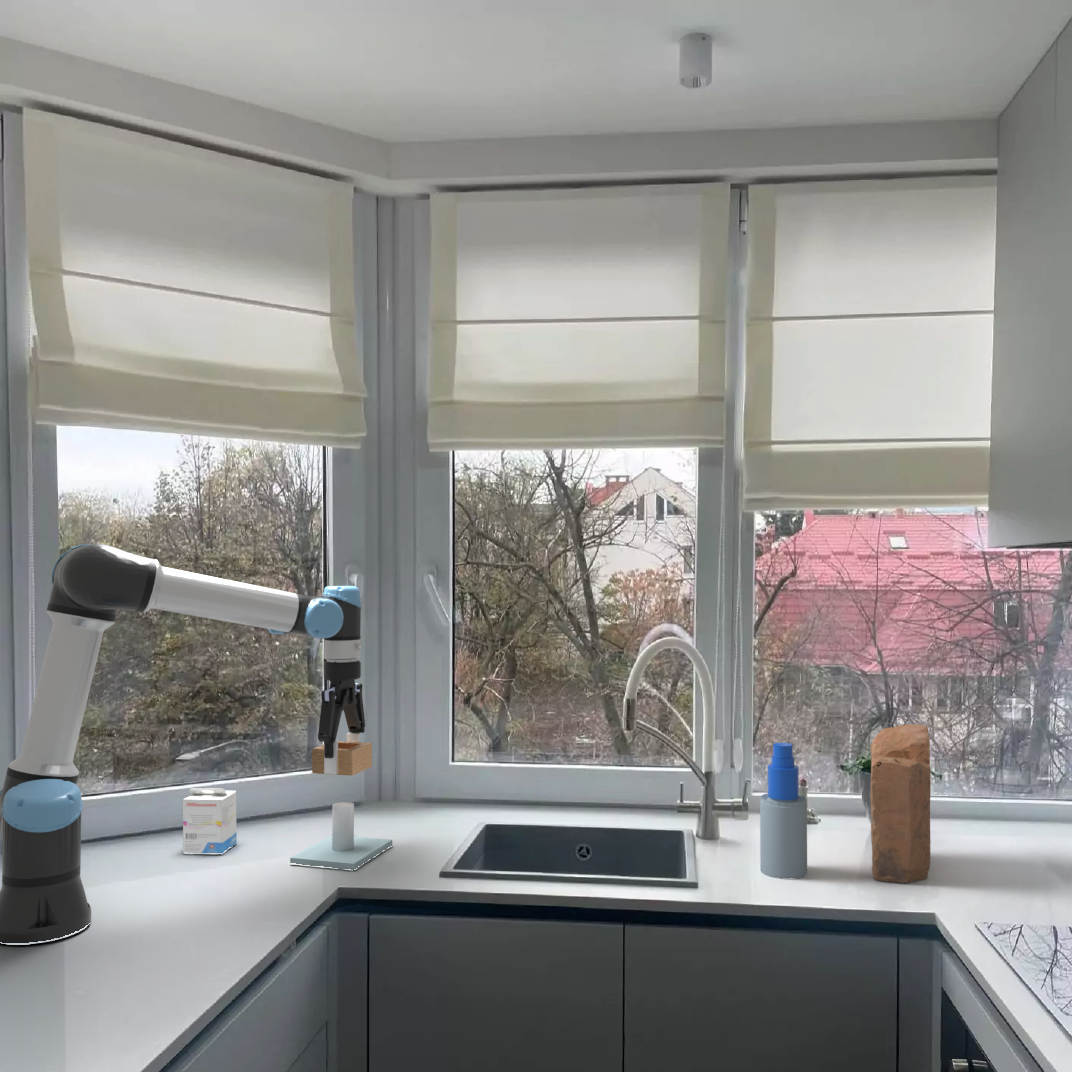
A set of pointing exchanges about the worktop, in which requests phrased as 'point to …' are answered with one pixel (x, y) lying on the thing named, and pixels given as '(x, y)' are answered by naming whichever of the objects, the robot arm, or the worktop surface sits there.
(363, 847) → the post stand
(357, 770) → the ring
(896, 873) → the stone
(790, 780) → the spray bottle
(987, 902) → the worktop surface
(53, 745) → the robot arm
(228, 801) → the ink box
